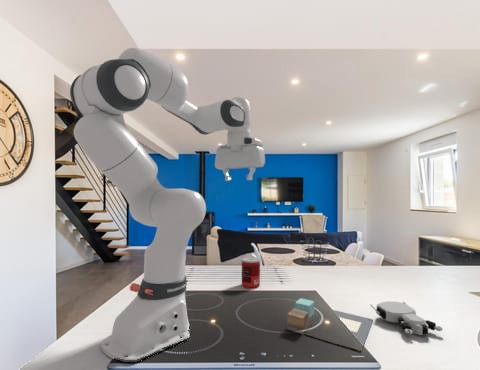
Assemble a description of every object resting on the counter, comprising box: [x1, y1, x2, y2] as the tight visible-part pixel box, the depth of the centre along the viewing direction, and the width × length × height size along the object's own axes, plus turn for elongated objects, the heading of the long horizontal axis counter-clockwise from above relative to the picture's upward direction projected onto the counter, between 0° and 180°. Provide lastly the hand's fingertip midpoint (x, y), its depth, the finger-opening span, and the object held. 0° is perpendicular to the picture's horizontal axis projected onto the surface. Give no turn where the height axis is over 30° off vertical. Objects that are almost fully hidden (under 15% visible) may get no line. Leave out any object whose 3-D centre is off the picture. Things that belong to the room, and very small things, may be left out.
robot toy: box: [369, 301, 443, 336], centre depth 77 cm, size 12×4×15 cm
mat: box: [332, 309, 374, 346], centre depth 75 cm, size 20×14×1 cm
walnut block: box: [286, 308, 310, 330], centre depth 74 cm, size 4×4×4 cm
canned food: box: [241, 256, 261, 290], centre depth 111 cm, size 8×8×11 cm
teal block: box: [294, 297, 315, 318], centre depth 82 cm, size 4×4×4 cm
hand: (238, 180), depth 97 cm, fingers open, 8 cm apart
